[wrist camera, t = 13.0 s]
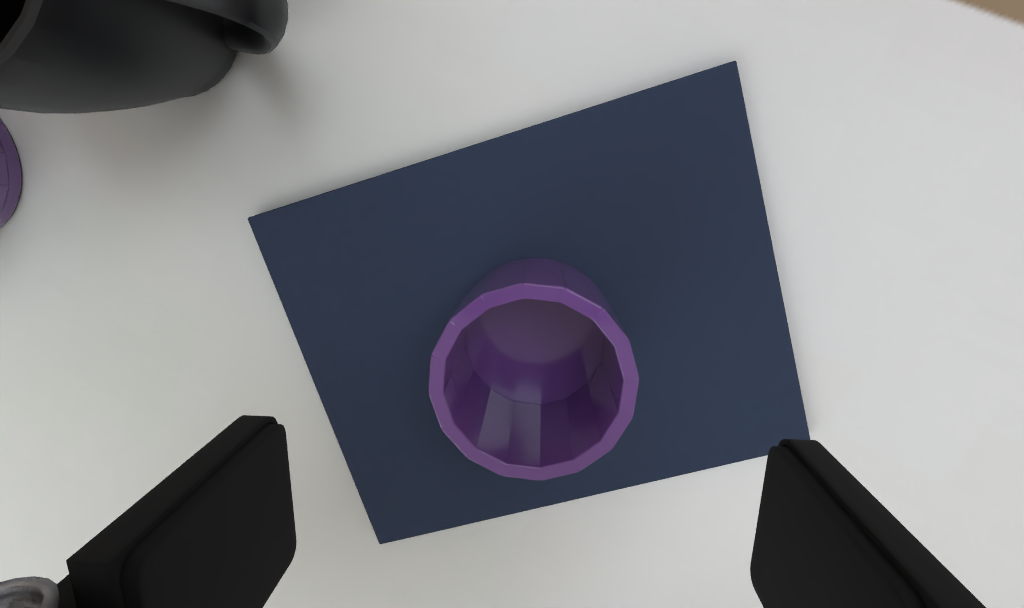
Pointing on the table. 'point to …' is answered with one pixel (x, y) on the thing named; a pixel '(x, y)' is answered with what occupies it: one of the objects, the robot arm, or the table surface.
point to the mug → (125, 50)
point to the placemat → (566, 238)
